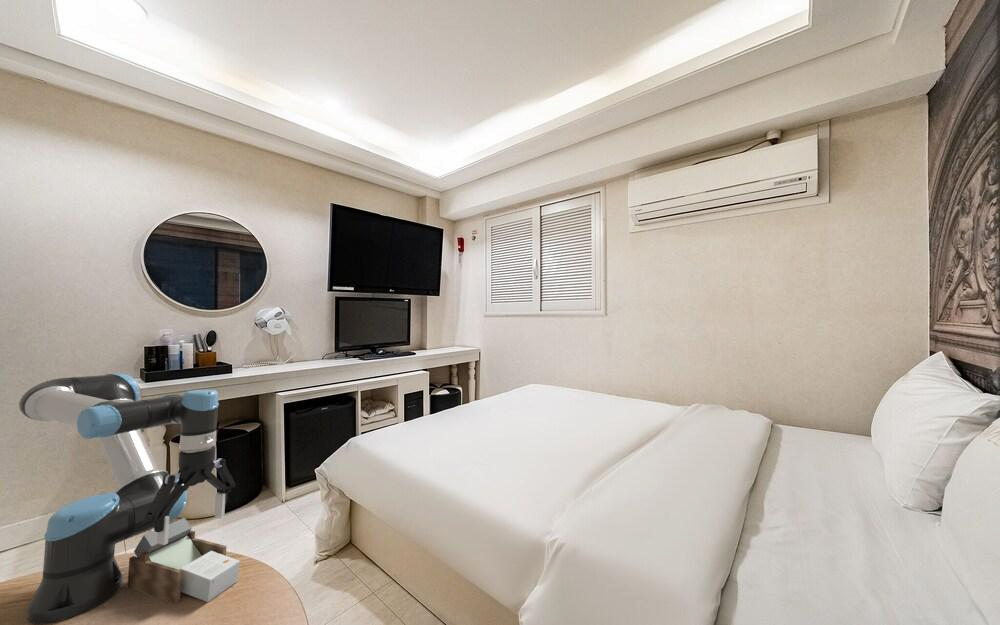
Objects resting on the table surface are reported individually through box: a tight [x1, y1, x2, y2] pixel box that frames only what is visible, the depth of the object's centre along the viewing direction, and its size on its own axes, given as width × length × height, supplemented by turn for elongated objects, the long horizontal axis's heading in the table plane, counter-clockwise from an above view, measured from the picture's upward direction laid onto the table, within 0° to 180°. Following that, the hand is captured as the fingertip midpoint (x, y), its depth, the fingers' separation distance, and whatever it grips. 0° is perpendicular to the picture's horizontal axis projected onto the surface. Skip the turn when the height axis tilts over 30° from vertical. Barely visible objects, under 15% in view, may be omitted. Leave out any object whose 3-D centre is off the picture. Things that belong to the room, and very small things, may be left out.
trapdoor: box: [133, 517, 202, 570], centre depth 96 cm, size 18×9×6 cm
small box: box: [180, 551, 241, 603], centre depth 93 cm, size 8×6×10 cm
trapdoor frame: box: [126, 529, 227, 604], centre depth 96 cm, size 19×12×9 cm, turn 73°
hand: (192, 529), depth 95 cm, fingers open, 13 cm apart
